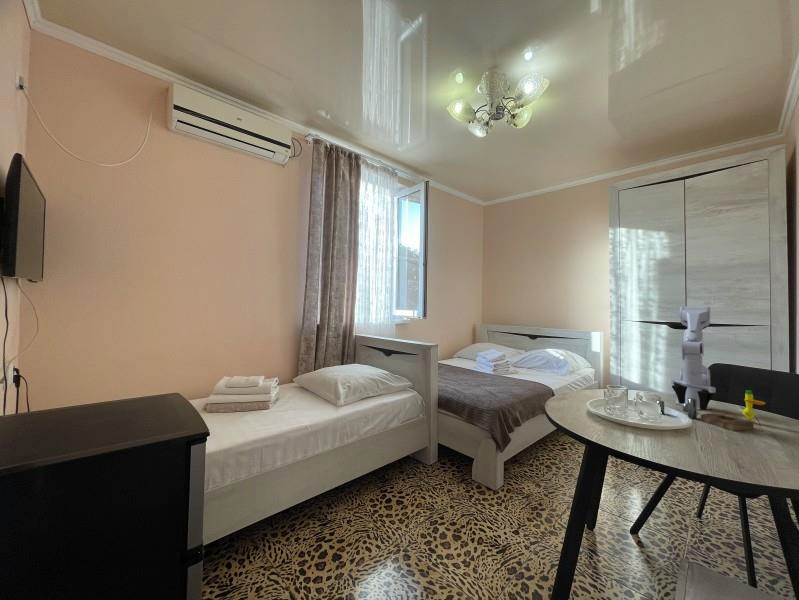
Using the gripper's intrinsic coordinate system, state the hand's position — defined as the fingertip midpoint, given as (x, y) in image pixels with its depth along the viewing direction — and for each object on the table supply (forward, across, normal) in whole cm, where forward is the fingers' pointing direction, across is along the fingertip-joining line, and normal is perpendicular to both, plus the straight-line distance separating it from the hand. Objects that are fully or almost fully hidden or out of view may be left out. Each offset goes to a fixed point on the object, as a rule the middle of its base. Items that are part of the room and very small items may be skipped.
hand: (692, 406), depth 127 cm
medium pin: (+5, -7, -7) cm, 11 cm away
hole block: (+4, +8, +5) cm, 10 cm away
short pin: (+4, -7, +7) cm, 11 cm away
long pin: (+5, 0, 0) cm, 5 cm away
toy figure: (+5, +8, +17) cm, 20 cm away
